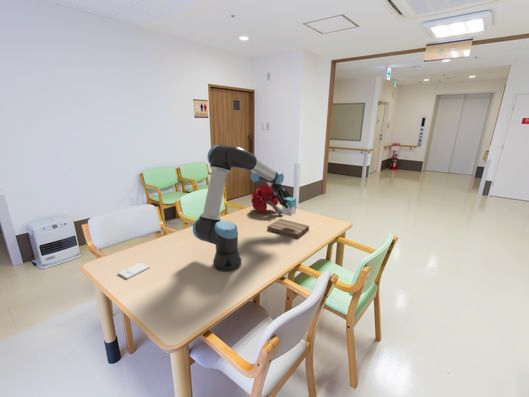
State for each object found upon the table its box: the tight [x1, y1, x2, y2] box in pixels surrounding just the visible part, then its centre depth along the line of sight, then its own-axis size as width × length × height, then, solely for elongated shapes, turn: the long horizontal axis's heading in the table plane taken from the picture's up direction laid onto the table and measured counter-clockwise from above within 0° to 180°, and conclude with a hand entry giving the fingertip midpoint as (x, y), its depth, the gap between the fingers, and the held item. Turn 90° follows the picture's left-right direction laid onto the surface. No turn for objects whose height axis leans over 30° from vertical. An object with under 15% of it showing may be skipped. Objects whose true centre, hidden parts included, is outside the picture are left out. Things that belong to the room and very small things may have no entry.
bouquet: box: [250, 184, 283, 216], centre depth 221 cm, size 22×24×30 cm
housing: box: [281, 196, 297, 217], centre depth 184 cm, size 7×7×11 cm
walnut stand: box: [267, 218, 310, 239], centre depth 189 cm, size 18×24×3 cm
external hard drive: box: [117, 262, 151, 280], centre depth 136 cm, size 2×8×12 cm
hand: (293, 209), depth 183 cm, fingers closed on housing, 7 cm apart
